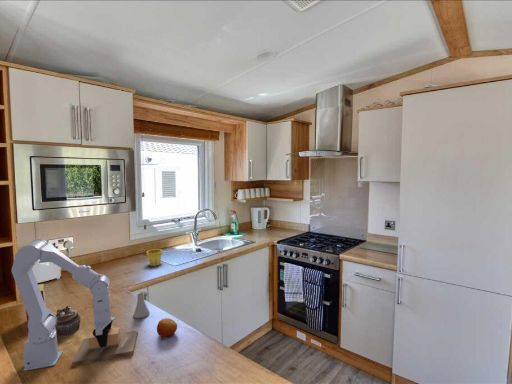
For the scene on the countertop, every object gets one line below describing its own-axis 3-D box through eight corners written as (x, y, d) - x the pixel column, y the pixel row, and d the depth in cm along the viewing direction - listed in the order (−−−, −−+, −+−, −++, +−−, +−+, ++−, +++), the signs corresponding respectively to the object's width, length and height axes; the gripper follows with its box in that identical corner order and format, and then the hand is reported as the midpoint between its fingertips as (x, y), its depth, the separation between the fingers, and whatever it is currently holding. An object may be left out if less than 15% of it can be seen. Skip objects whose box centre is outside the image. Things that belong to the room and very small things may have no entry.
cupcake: (63, 339, 118) (61, 315, 117) (50, 333, 123) (48, 310, 122) (86, 327, 127) (84, 305, 126) (73, 322, 131) (71, 301, 130)
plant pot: (148, 262, 209) (147, 249, 208) (163, 261, 211) (162, 248, 210) (146, 267, 199) (145, 253, 198) (161, 266, 201) (161, 252, 200)
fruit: (149, 334, 118) (157, 314, 120) (165, 336, 123) (173, 317, 125) (158, 342, 112) (167, 321, 115) (174, 344, 117) (182, 324, 120)
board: (72, 366, 102) (71, 361, 102) (83, 342, 116) (83, 339, 115) (133, 354, 108) (133, 350, 107) (137, 333, 121) (137, 330, 121)
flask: (133, 312, 138) (132, 292, 137) (149, 309, 141) (148, 290, 140) (133, 320, 132) (131, 299, 131) (149, 317, 134) (148, 296, 133)
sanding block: (89, 351, 108) (88, 338, 107) (92, 343, 112) (91, 331, 112) (118, 345, 110) (117, 333, 110) (120, 339, 115) (119, 327, 114)
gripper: (109, 316, 104) (112, 352, 105) (117, 298, 118) (119, 330, 119) (87, 319, 102) (90, 355, 103) (98, 301, 116) (100, 333, 117)
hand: (104, 342), depth 111 cm, fingers closed on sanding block, 4 cm apart
